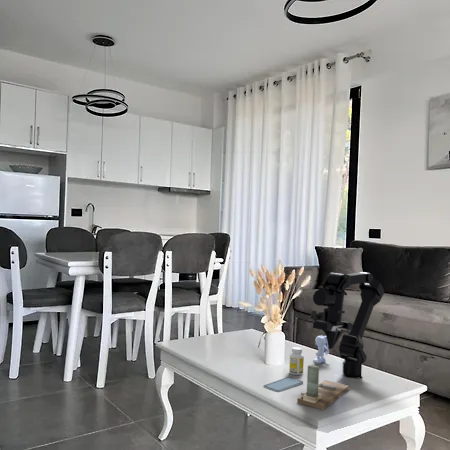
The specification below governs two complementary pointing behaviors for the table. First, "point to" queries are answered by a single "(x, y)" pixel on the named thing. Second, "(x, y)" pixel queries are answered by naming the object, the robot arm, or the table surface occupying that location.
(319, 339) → the toy figurine
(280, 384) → the smartphone
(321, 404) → the stepped wooden base
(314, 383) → the pale green upright block
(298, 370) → the supplement bottle
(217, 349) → the table surface
